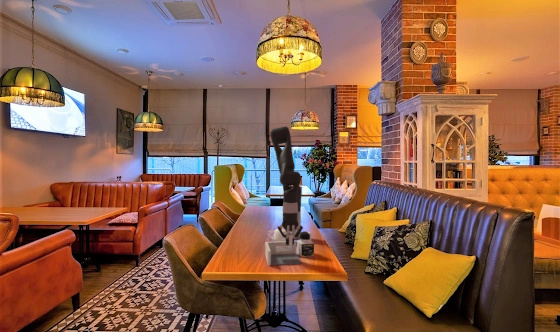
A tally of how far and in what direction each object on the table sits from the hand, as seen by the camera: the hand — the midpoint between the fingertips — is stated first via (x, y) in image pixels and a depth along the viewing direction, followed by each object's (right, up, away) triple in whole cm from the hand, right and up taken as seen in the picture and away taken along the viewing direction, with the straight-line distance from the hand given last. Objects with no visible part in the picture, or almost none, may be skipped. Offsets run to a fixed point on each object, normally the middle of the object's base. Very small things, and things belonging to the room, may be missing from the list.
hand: (290, 245), depth 148 cm
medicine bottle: (+9, -7, +8) cm, 14 cm away
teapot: (-3, -7, +31) cm, 32 cm away
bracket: (-3, -2, 0) cm, 4 cm away
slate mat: (-3, -7, 0) cm, 8 cm away
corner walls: (-3, -7, 0) cm, 8 cm away
